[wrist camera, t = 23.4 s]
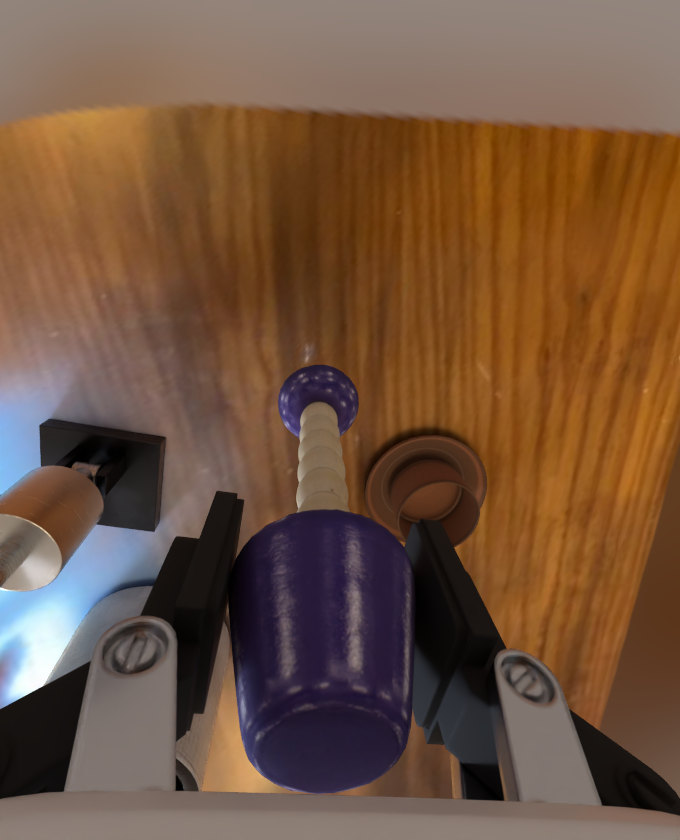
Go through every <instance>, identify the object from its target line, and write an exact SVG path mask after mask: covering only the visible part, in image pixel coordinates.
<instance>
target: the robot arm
mask: <svg viewBox="0 0 680 840" xmlns="http://www.w3.org/2000/svg"><path fill="white" fill-rule="evenodd" d="M243 506H244V500H241V499H237V493H230V492H222V491H217V492H216V494H215V497H214V500H213V502H212V505H211V508H210V511H209V513H208V516H207V519H206V522H205V525H204V527H203V530H202V533H201V536H200V538H199V539H196V538H188V537H179V536H177V537H175V539H174V541H173V543H172V545H171V547H170V550H169V552H168V554H167V556H166V559H165V561H164V563H163V565H162V567H161V570H160V572H159V574H158V576H157V579H156V581H155V583H154V585H153V588H152V590H151V592H150V594H149V596H148V599H147V601H146V603H145V605H144V608H143V610H142V612H141V614H140V616H136V617H131V618H127V619H125V620H123V621H120V622H118V623H116V624H114V625H113V626H112V627H110V628H109V629H108V630H106V631H105V632H104V633H103V635H102V636H101V637H100V638H99V639H98V641H97V643H96V645H95V648H94V650H93V654H92V659H91V661H89V662H87V663H85V664H84V665H82V666H80V667H78V668H76V669H74V670H72V671H71V672H69V673H67V674H65V675H63V676H61V677H59V678H58V679H56V680H54V681H52V682H50V683H48V684H46V685H45V686H43V687H41V688H39V689H37V690H35V691H33V692H32V693H30V694H28V695H26V696H24V697H22V698H20V699H19V700H17V701H15V702H13V703H11V704H9V705H7V706H6V707H4V708H2V709H0V840H680V798H679V797H678V795H677V794H676V792H675V791H674V790H673V789H672V788H671V787H670V786H669V784H668V783H667V782H666V781H665V780H664V779H663V778H662V777H660V776H659V775H658V774H657V773H656V772H654V771H653V770H652V769H651V768H650V767H648V766H647V765H645V764H644V763H642V762H641V761H640V760H639V759H637V758H636V757H634V756H633V755H632V754H630V753H629V752H628V751H626V750H625V749H623V748H622V747H621V746H619V745H618V744H617V743H615V742H614V741H612V740H611V739H610V738H608V737H607V736H605V735H604V734H603V733H601V732H600V731H599V730H597V729H596V728H595V727H593V726H592V725H590V724H589V723H588V722H586V721H585V720H584V719H582V718H581V717H579V716H578V715H577V714H575V713H574V712H573V711H571V710H570V709H569V708H568V706H567V703H566V700H565V697H564V694H563V691H562V688H561V686H560V684H559V682H558V680H557V678H556V677H555V676H554V674H553V673H552V672H551V670H550V669H549V668H548V667H547V666H546V665H544V664H543V663H542V662H541V661H540V660H538V659H537V658H535V657H534V656H532V655H531V654H528V653H526V652H524V651H521V650H517V649H506V647H505V645H504V643H503V641H502V639H501V637H500V635H499V633H498V631H497V629H496V627H495V625H494V623H493V621H492V619H491V617H490V615H489V613H488V611H487V609H486V607H485V605H484V603H483V601H482V599H481V597H480V595H479V593H478V591H477V589H476V587H475V585H474V583H473V581H472V579H471V577H470V575H469V574H468V572H466V571H465V569H464V567H463V565H462V563H461V561H460V559H459V557H458V555H457V553H456V551H455V549H454V547H453V545H452V543H451V541H450V539H449V537H448V535H447V533H446V531H445V529H444V527H443V525H442V523H441V522H440V521H436V520H429V519H420V520H419V521H418V523H413V524H412V525H411V528H410V531H409V534H408V537H407V540H406V544H405V547H404V549H405V550H406V552H407V554H408V556H409V558H410V561H411V564H412V567H413V571H414V576H415V587H416V613H415V652H414V675H413V700H412V709H413V713H414V717H415V721H416V724H417V726H419V727H423V730H424V734H425V738H426V742H427V744H441V745H445V748H446V749H447V750H448V751H450V752H451V773H452V788H453V799H436V798H406V797H376V796H345V795H313V794H276V793H238V792H201V791H176V742H177V741H178V740H179V739H181V738H182V737H183V736H184V735H186V732H187V731H190V729H191V724H192V720H193V716H194V714H204V710H205V706H206V701H207V697H208V692H209V687H210V683H211V678H212V673H213V669H214V664H215V660H216V655H217V650H218V646H219V641H220V637H221V632H222V627H223V623H224V618H225V613H226V609H227V604H228V587H229V581H230V576H231V571H232V568H233V565H234V562H235V560H236V553H237V546H238V540H239V533H240V526H241V519H242V513H243Z"/></svg>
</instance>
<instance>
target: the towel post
mask: <svg viewBox="0 0 680 840" xmlns="http://www.w3.org/2000/svg"><path fill="white" fill-rule="evenodd" d="M103 467H104V466H103V465H99V464H92V463H85V462H78V461H77V462H75V463H74V464H73V465H72V467H71V468H67V467H63V466H43V467H39V468H36V469H34V470H32V471H30V472H29V473H27V474H26V475H25V476H24V477H22V478H21V479H20V480H19V481H18V482H16V483H15V484H14V485H13V486H11V487H10V488H9V489H8V490H7V491H5V492H4V493H3V494H2V495H0V589H3V590H8V591H17V592H23V591H32V590H36V589H39V588H42V587H44V586H46V585H48V584H49V583H51V582H52V581H53V580H54V579H55V578H56V577H57V576H58V574H59V573H60V572H61V570H62V569H63V568H64V566H65V565H66V564H67V563H68V561H69V560H70V559H71V557H72V556H73V555H74V553H75V552H76V551H77V549H78V548H79V547H80V545H81V544H82V543H83V541H84V540H85V539H86V537H87V536H88V535H89V533H90V532H91V531H92V529H93V528H94V527H95V525H96V524H97V523H98V521H99V520H100V518H101V516H102V513H103V508H104V505H103V498H102V495H101V493H100V491H99V489H98V488H97V487H96V474H97V473H98V472H99V471H100V470H101V469H102V468H103Z"/></svg>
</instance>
